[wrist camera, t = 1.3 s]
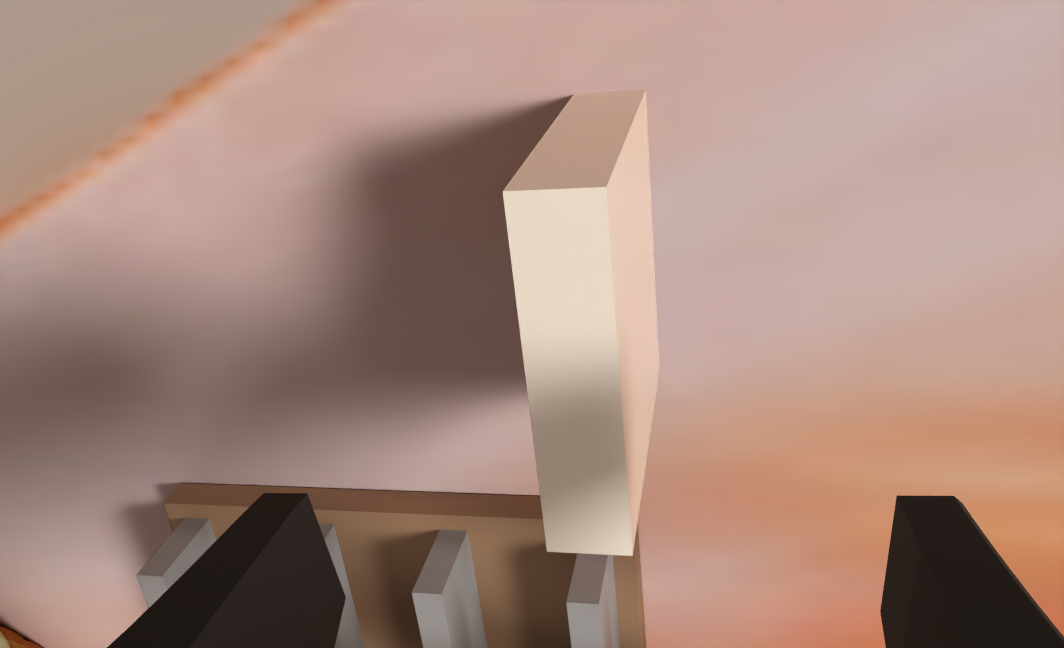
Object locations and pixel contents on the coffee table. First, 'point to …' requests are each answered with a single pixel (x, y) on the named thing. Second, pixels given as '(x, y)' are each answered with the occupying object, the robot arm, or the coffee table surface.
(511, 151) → the coffee table surface
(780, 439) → the coffee table surface
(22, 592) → the coffee table surface
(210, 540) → the dish rack
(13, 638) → the decorated donut
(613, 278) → the upright cream panel
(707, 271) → the coffee table surface
